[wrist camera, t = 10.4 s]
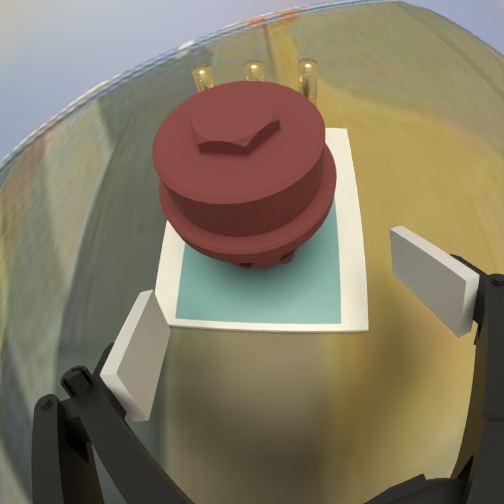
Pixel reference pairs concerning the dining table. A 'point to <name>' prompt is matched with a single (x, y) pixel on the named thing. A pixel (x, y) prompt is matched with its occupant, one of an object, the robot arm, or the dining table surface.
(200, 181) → the mechanical component
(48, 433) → the robot arm
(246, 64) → the pin
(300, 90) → the pin
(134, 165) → the dining table surface
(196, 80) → the pin
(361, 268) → the header board
